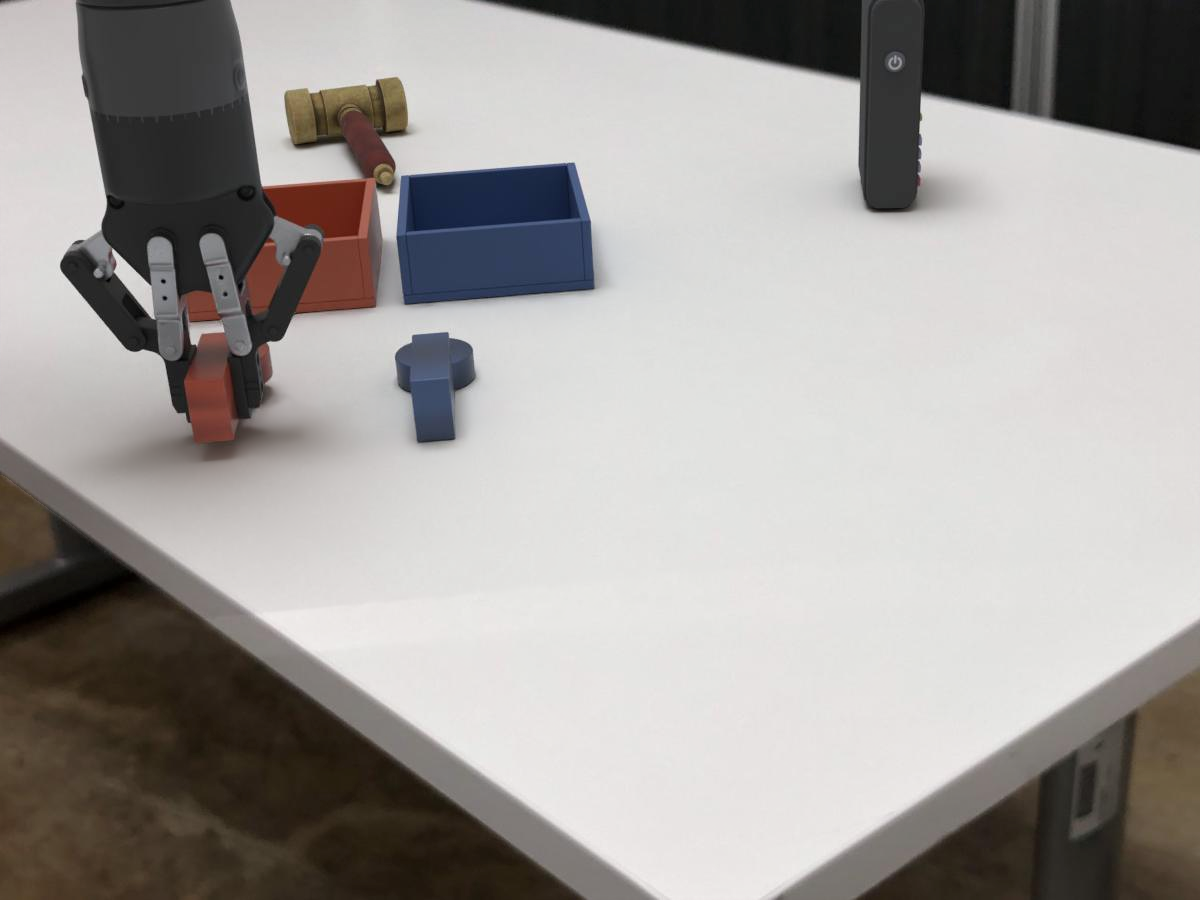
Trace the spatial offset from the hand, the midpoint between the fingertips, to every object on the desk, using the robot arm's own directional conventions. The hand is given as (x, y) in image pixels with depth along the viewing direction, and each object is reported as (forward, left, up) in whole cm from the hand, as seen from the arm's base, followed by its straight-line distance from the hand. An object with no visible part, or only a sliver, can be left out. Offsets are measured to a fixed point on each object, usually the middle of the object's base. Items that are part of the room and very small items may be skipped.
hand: (221, 413), depth 83 cm
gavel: (+5, +52, -1) cm, 52 cm away
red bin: (+1, +24, -1) cm, 24 cm away
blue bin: (+15, +24, -1) cm, 28 cm away
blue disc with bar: (+11, +2, -1) cm, 12 cm away
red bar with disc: (0, +2, 0) cm, 2 cm away
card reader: (+44, +32, -1) cm, 55 cm away
